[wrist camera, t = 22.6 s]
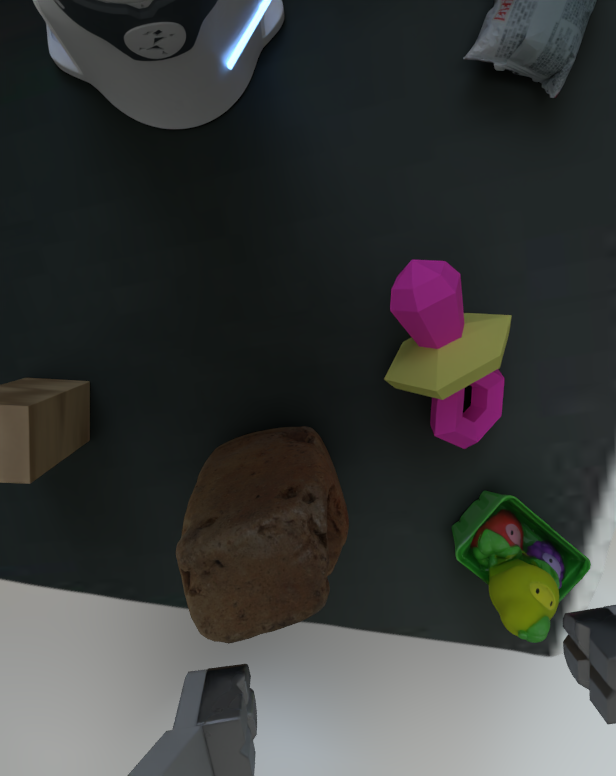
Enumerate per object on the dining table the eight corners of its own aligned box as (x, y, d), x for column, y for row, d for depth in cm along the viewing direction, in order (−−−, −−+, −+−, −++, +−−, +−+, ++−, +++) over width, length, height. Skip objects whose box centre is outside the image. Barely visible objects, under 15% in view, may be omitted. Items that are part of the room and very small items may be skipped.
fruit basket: (563, 537, 49) (647, 605, 38) (505, 601, 50) (571, 686, 39) (484, 471, 47) (548, 522, 36) (424, 538, 48) (469, 608, 37)
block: (229, 514, 46) (195, 668, 27) (204, 442, 45) (149, 547, 25) (337, 481, 47) (383, 610, 27) (315, 408, 45) (347, 487, 26)
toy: (405, 452, 47) (497, 488, 39) (326, 295, 39) (420, 297, 31) (466, 388, 51) (562, 409, 42) (405, 232, 43) (510, 218, 34)
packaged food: (452, 73, 41) (477, 42, 36) (502, -77, 39) (535, -130, 35) (542, 110, 42) (578, 85, 37) (595, -34, 41) (640, -79, 36)
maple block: (27, 437, 44) (-54, 480, 33) (26, 377, 43) (-58, 401, 32) (90, 440, 44) (30, 483, 33) (90, 381, 43) (28, 406, 33)
